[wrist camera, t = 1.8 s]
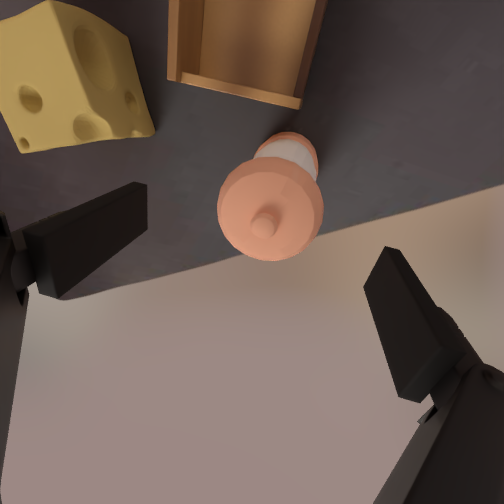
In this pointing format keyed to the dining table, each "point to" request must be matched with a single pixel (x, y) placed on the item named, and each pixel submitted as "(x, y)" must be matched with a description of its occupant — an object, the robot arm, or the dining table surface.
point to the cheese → (68, 79)
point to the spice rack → (245, 46)
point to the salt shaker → (273, 199)
